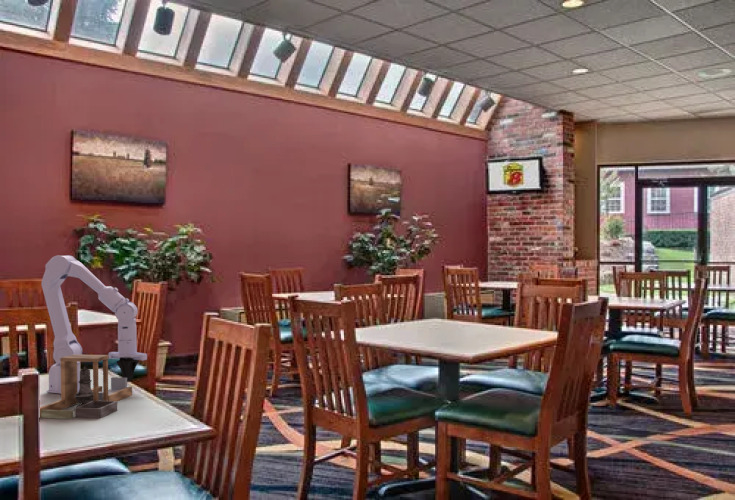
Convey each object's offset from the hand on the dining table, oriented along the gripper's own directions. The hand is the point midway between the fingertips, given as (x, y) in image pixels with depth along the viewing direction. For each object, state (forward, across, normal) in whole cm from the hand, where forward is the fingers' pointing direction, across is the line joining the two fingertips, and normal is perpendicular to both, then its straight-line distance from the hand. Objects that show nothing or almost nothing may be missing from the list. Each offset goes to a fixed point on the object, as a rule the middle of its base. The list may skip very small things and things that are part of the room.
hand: (128, 381), depth 215 cm
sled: (+2, +3, -12) cm, 12 cm away
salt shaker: (+3, +6, -23) cm, 24 cm away
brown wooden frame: (+3, +8, -21) cm, 23 cm away
